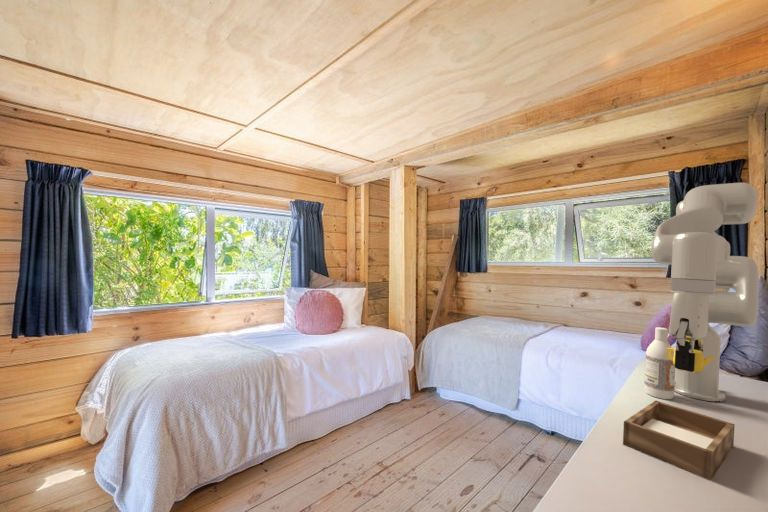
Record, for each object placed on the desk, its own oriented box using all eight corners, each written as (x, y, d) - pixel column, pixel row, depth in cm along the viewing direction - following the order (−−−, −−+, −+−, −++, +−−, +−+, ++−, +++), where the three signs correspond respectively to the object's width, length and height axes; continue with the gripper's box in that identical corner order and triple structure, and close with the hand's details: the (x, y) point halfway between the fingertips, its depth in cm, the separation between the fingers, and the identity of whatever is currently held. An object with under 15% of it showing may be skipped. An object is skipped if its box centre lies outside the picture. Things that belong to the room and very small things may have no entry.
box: (654, 420, 86) (655, 400, 86) (733, 447, 75) (734, 424, 75) (622, 444, 75) (623, 421, 74) (710, 480, 63) (711, 453, 63)
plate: (651, 427, 81) (652, 418, 81) (715, 449, 72) (716, 440, 72) (637, 438, 75) (637, 429, 75) (704, 464, 66) (705, 454, 66)
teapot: (712, 371, 77) (713, 348, 77) (714, 377, 73) (715, 352, 73) (666, 362, 82) (667, 341, 82) (665, 367, 78) (666, 344, 78)
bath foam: (668, 401, 98) (671, 331, 98) (640, 393, 104) (643, 327, 103) (677, 396, 102) (680, 329, 101) (649, 388, 107) (652, 324, 107)
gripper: (681, 285, 85) (678, 358, 85) (659, 286, 75) (655, 368, 75) (723, 288, 79) (720, 366, 79) (705, 289, 69) (701, 379, 69)
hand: (688, 366), depth 77 cm, fingers closed on teapot, 6 cm apart
